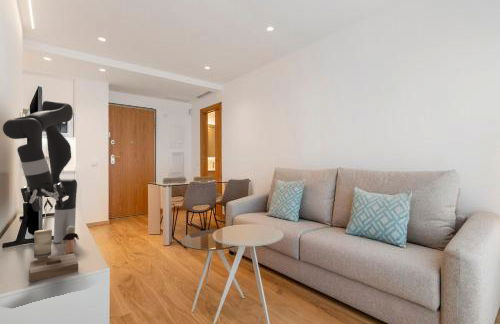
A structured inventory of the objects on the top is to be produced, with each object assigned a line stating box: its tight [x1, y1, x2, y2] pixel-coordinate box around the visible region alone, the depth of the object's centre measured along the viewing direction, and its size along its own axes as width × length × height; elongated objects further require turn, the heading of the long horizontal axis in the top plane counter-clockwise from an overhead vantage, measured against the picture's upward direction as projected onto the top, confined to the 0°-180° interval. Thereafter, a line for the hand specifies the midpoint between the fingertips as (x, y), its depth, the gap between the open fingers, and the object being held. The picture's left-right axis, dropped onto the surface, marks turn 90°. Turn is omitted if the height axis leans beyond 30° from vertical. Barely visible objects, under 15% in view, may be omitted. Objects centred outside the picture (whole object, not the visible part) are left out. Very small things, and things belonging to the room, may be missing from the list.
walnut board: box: [29, 253, 79, 283], centre depth 96 cm, size 14×14×3 cm
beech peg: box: [33, 228, 53, 260], centre depth 104 cm, size 6×6×13 cm
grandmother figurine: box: [60, 226, 80, 255], centre depth 115 cm, size 8×4×13 cm, turn 168°
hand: (49, 209), depth 100 cm, fingers open, 8 cm apart
